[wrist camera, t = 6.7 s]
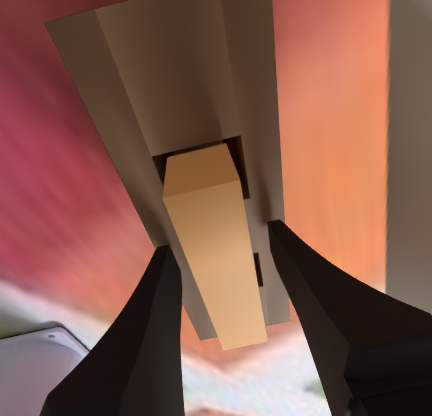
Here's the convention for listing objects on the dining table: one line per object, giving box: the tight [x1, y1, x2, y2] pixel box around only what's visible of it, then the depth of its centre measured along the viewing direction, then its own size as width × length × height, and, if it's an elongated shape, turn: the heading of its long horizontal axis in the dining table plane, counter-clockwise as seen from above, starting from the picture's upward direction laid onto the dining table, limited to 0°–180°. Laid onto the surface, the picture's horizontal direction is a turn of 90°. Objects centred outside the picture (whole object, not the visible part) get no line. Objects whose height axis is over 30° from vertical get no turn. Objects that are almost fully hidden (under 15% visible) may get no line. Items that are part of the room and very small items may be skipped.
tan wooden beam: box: [162, 140, 268, 351], centre depth 13 cm, size 2×10×6 cm, turn 12°
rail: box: [44, 0, 290, 340], centre depth 14 cm, size 7×20×2 cm, turn 12°
